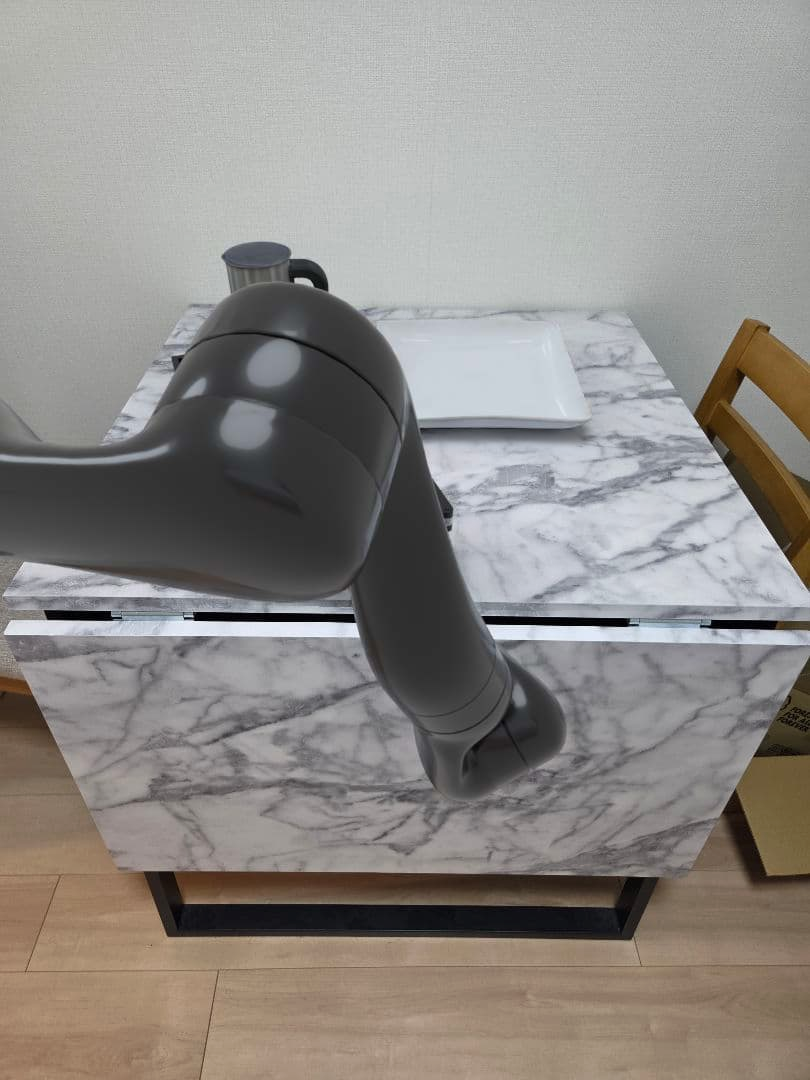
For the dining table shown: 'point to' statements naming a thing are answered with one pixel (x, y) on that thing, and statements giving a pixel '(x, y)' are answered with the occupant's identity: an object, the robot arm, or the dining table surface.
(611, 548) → the dining table surface
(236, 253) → the milk frother
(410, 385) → the square plate
